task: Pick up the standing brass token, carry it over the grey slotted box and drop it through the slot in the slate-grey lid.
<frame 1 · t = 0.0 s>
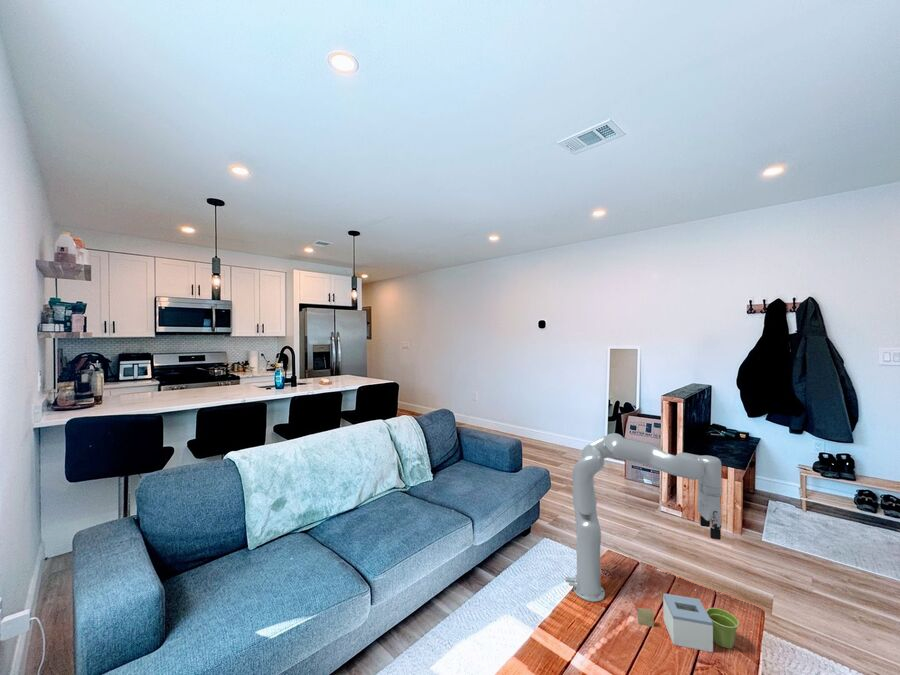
hand: (710, 532, 144), 31 cm above the table, fingers open, 9 cm apart
token: (645, 623, 138), on the table
plant pot: (722, 642, 129), on the table
grey slotted box: (686, 635, 132), on the table
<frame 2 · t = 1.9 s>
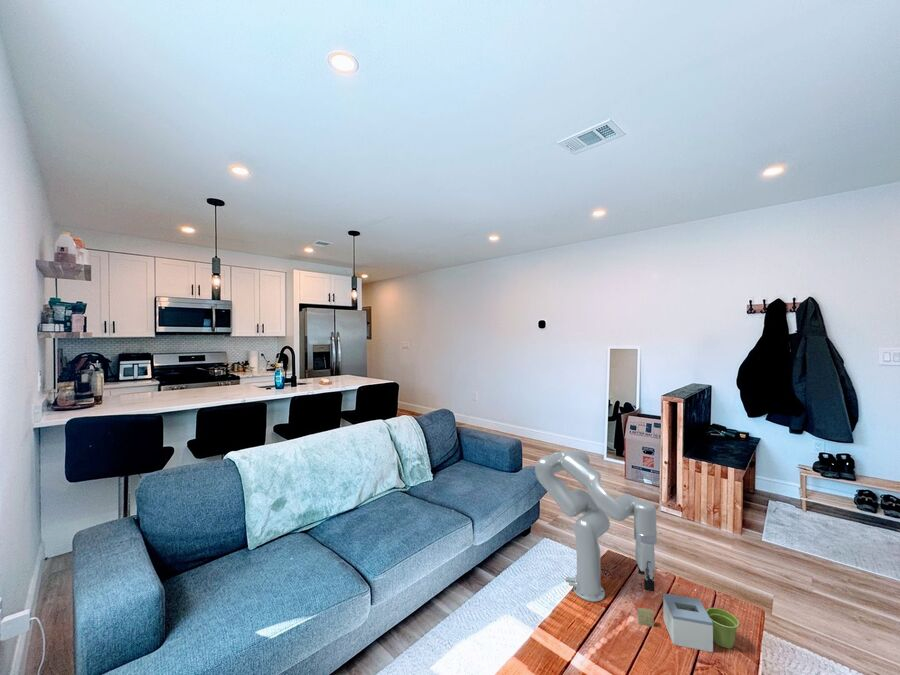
hand: (646, 581, 138), 16 cm above the table, fingers open, 9 cm apart
nothing on the table moved.
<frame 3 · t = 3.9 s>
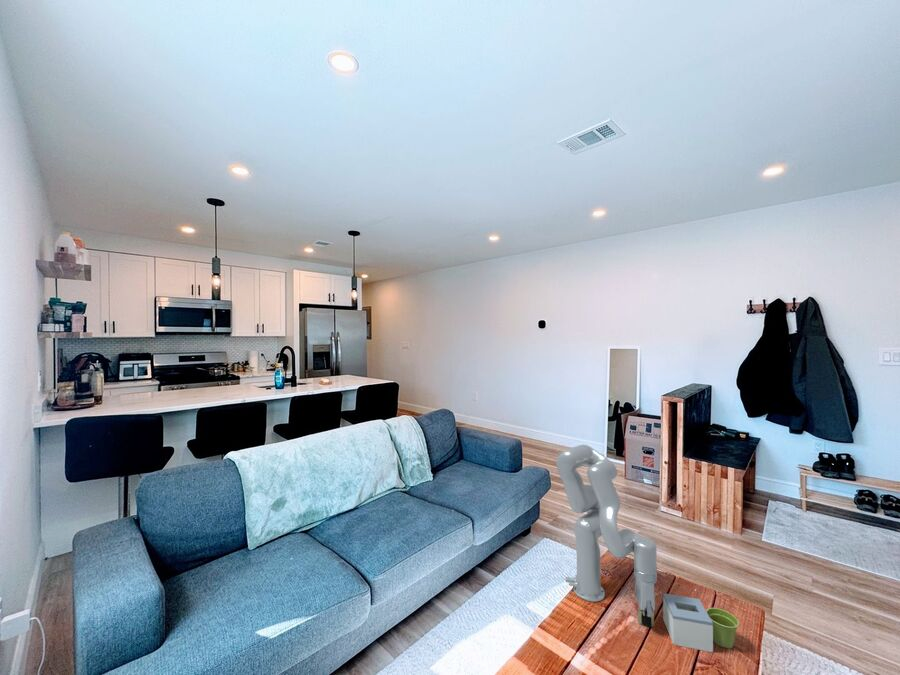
hand: (645, 622, 138), 0 cm above the table, fingers closed on token
token: (645, 623, 138), on the table, touching gripper
everything else where it was.
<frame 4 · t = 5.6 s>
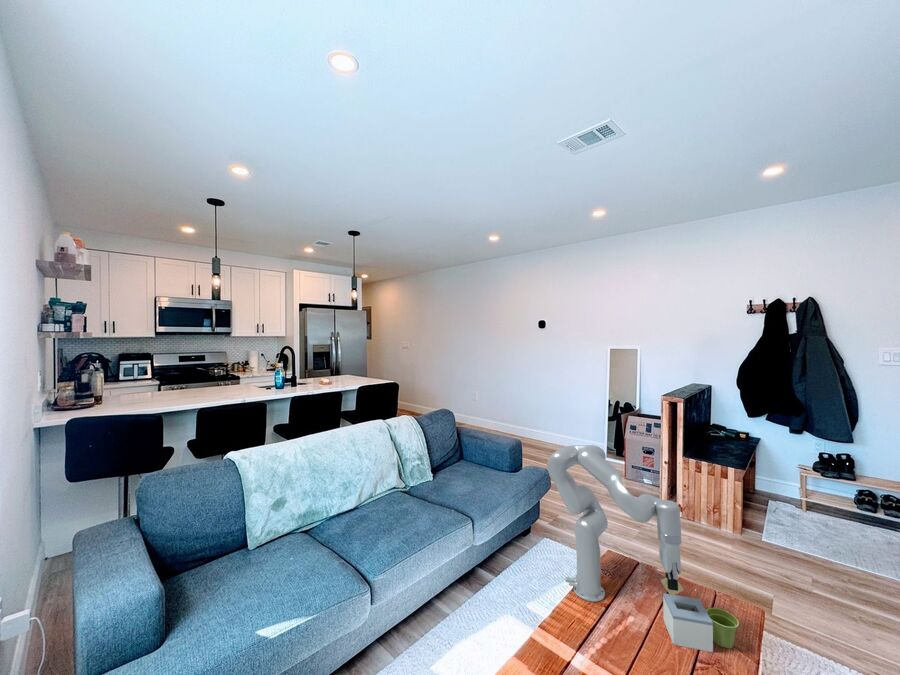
hand: (672, 587, 134), 16 cm above the table, fingers closed on token, 1 cm apart
token: (676, 591, 134), point 15 cm above the table, tilted 35°, touching gripper
everything else where it was.
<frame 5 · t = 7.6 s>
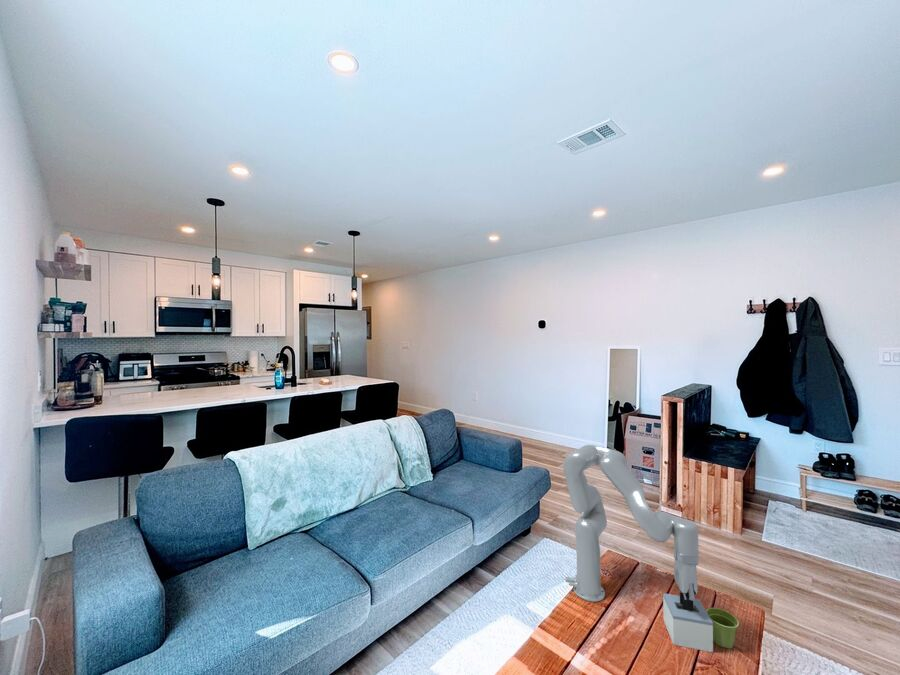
hand: (686, 606, 133), 10 cm above the table, fingers closed on grey slotted box, 2 cm apart
token: (691, 633, 132), point 1 cm above the table, tilted 9°, touching grey slotted box
everything else where it was.
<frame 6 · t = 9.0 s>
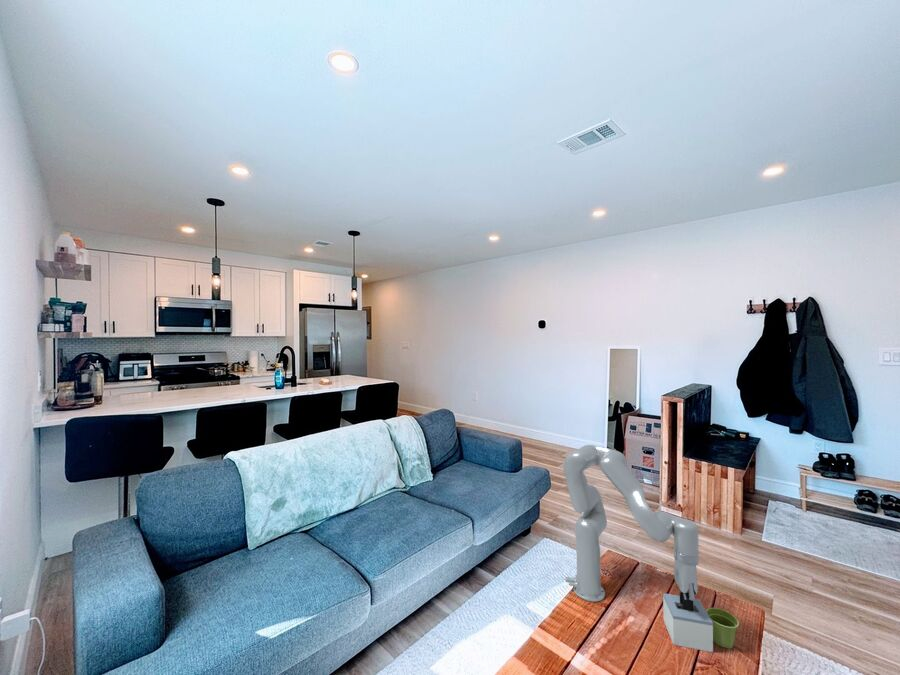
hand: (686, 606, 133), 10 cm above the table, fingers closed
token: (691, 634, 132), point 1 cm above the table, touching grey slotted box
everything else where it was.
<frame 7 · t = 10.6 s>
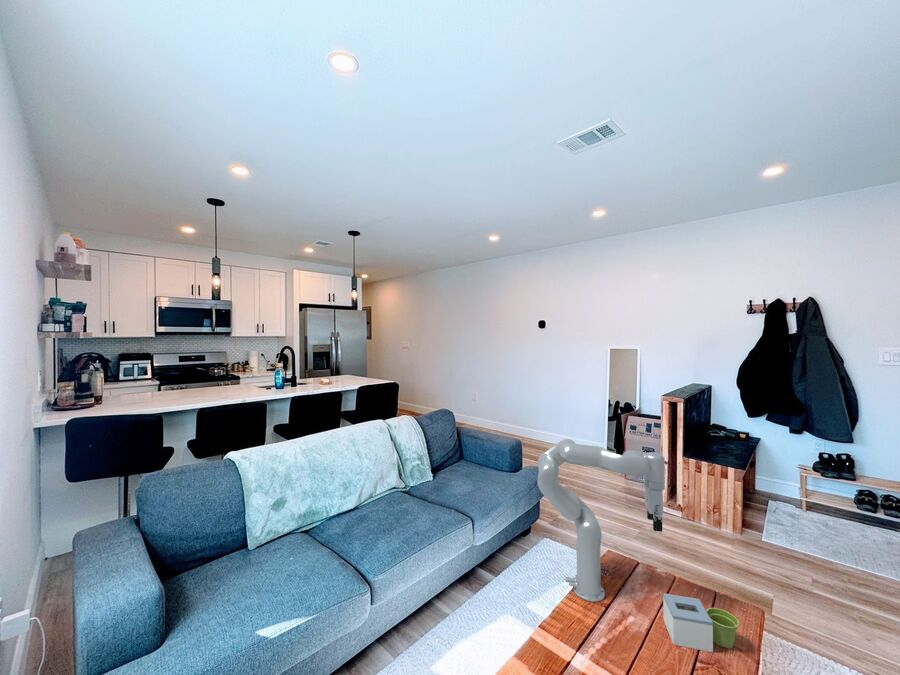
hand: (654, 525, 152), 30 cm above the table, fingers open, 9 cm apart
nothing on the table moved.
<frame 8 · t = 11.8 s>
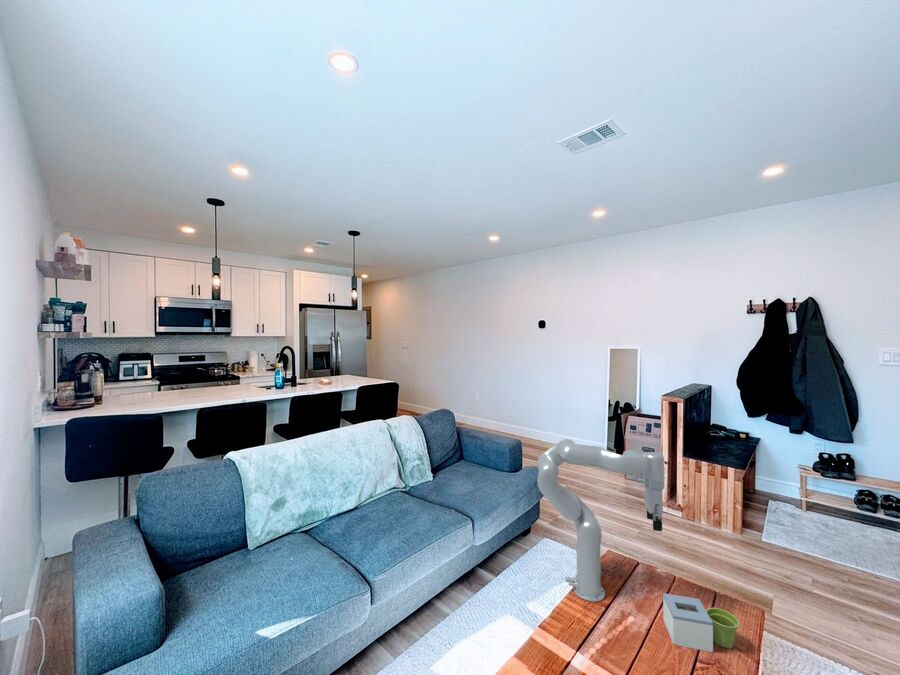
hand: (654, 524, 152), 30 cm above the table, fingers open, 9 cm apart
nothing on the table moved.
at the end: token inside the target area on the grey slotted box (1.5 cm from its centre), point 0.8 cm above the grey slotted box's base; the gripper is holding nothing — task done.
